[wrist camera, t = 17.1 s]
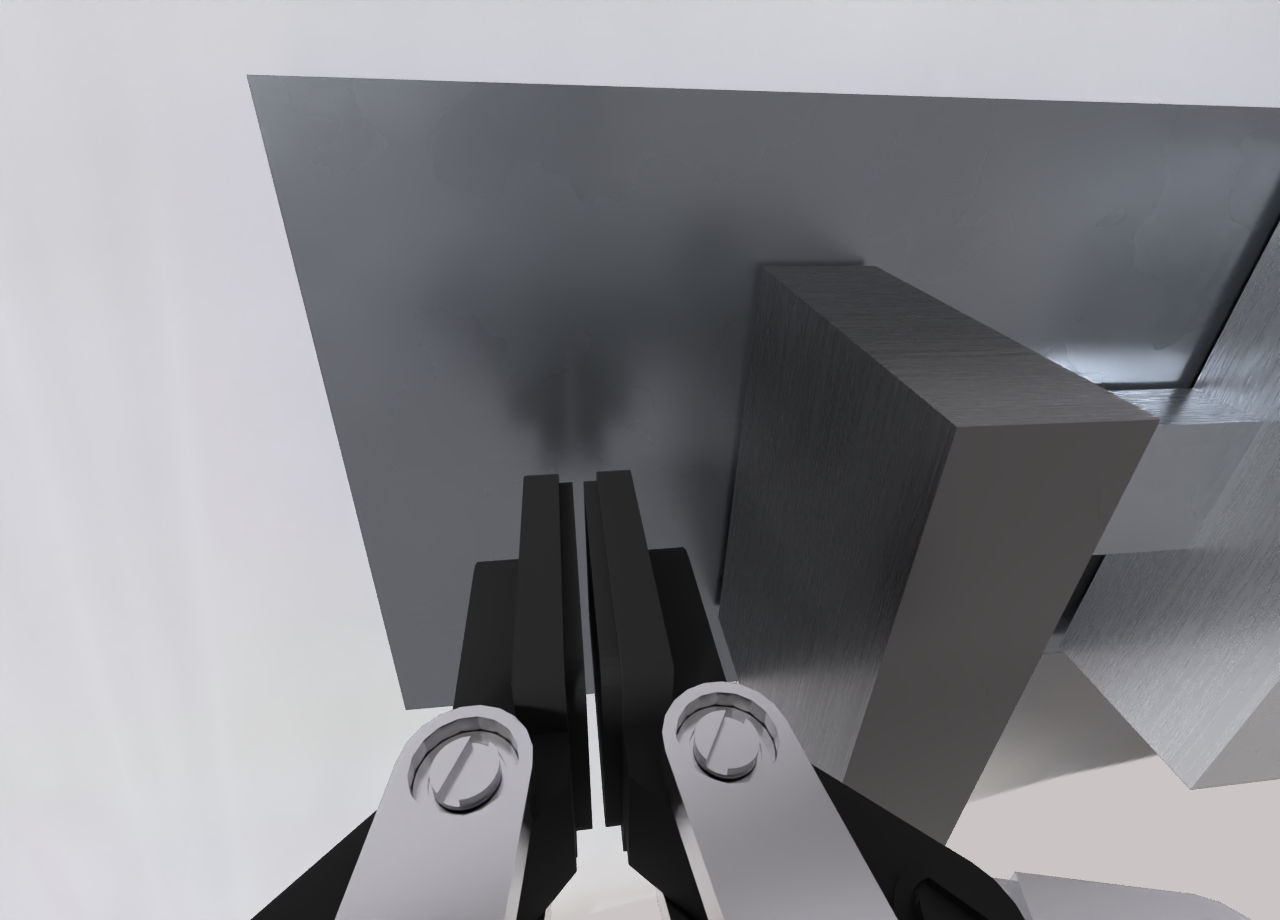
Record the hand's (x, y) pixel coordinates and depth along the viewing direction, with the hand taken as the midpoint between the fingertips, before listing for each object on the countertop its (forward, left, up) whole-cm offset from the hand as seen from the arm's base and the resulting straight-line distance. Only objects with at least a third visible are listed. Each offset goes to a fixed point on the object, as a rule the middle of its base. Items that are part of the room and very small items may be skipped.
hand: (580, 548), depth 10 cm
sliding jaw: (+9, 0, -2) cm, 9 cm away
